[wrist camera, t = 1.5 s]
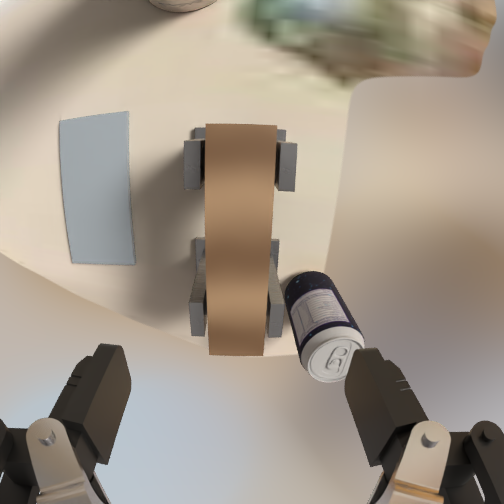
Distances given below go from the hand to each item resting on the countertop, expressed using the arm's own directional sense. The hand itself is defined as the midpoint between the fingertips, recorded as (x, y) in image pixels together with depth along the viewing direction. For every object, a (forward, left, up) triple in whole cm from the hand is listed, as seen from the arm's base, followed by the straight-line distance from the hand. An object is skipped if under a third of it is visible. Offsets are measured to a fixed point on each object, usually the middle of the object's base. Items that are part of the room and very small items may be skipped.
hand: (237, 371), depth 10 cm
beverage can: (+9, +8, -22) cm, 25 cm away
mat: (-2, -15, -22) cm, 27 cm away
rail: (0, 0, -14) cm, 14 cm away
